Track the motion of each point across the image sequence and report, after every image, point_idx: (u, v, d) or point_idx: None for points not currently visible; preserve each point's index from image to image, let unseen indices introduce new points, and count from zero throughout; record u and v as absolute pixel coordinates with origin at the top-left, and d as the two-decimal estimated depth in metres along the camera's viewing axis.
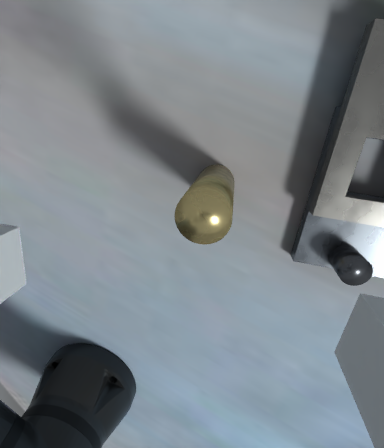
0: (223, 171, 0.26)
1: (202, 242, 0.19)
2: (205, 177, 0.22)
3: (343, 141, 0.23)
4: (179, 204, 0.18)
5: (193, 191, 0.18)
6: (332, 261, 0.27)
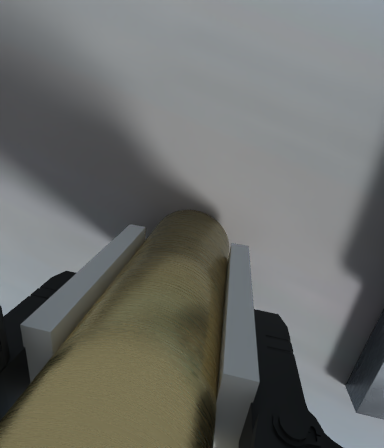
0: (199, 240, 0.10)
1: None
2: (118, 307, 0.06)
3: None
4: None
5: None
6: None
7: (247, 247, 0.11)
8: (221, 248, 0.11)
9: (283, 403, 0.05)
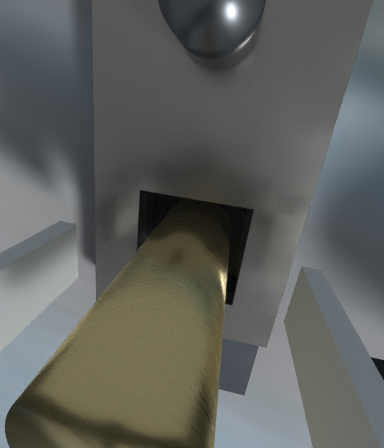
0: (206, 218, 0.12)
1: None
2: (152, 256, 0.08)
3: (105, 196, 0.13)
4: (13, 417, 0.05)
5: (53, 385, 0.04)
6: None
7: (322, 272, 0.10)
8: (224, 226, 0.13)
9: None
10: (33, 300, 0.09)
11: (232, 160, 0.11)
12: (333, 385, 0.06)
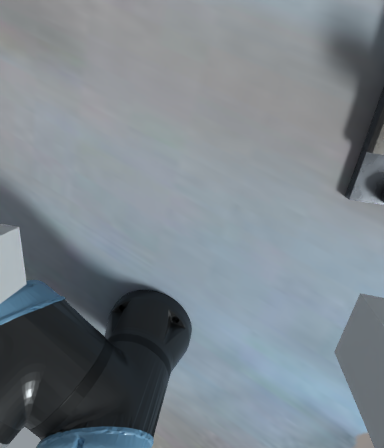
0: None
1: None
2: None
3: None
4: None
5: None
6: None
7: None
8: None
9: None
10: None
11: None
12: None
